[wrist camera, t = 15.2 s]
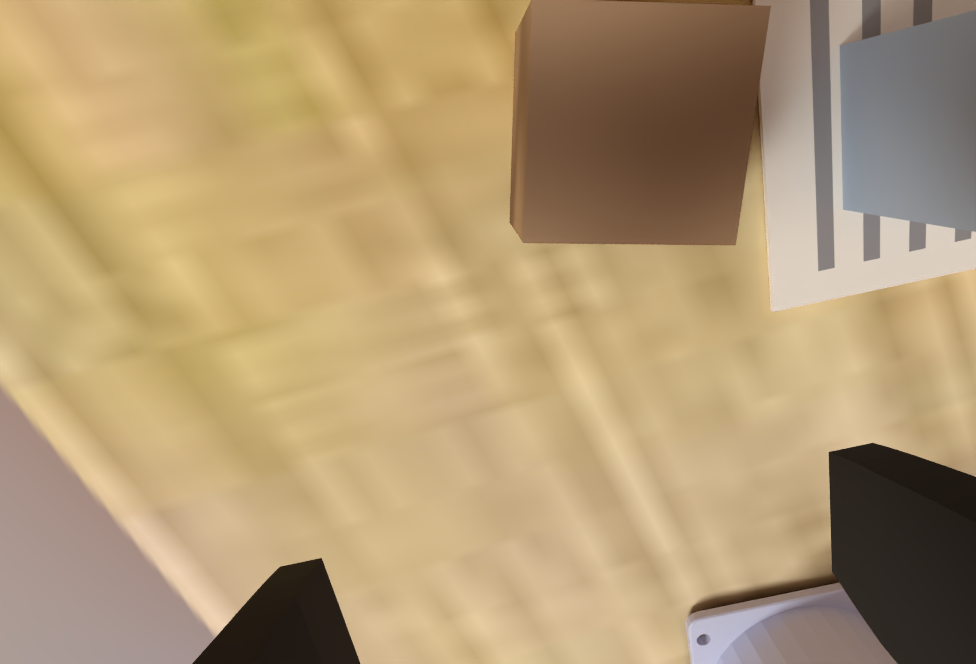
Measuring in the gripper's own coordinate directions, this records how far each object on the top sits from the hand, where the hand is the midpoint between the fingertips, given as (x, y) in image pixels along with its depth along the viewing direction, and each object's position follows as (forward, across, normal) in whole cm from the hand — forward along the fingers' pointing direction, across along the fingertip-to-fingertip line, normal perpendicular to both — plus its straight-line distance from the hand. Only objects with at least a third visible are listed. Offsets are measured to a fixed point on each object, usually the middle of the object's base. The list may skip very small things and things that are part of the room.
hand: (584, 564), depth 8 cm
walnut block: (+11, -4, -5) cm, 12 cm away
